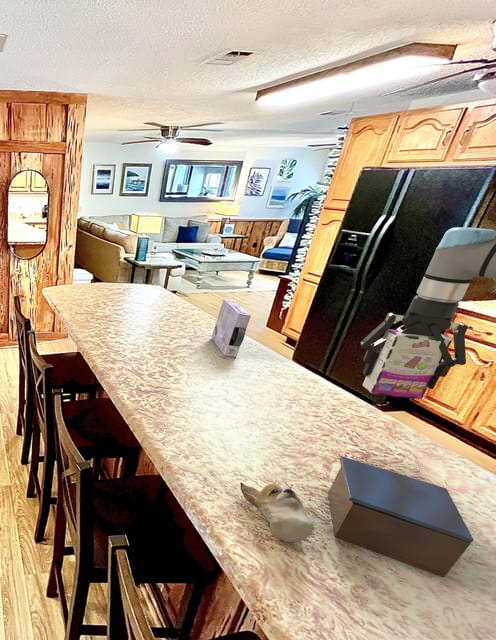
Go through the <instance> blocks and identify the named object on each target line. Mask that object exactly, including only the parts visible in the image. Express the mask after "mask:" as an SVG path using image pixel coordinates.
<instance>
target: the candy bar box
mask: <svg viewBox="0 0 496 640" xmlns="http://www.w3.org/2000/svg"><path fill="white" fill-rule="evenodd" d="M441 335H442V337H443V340H444V342H445V345H446V347H447V349H448V350H449V347H450V345H451V344H452V342H453V338H451V337H448V336H446V335H445V334H443V333H441ZM381 338H382V339H387V340H386V343H385V345H384V347H382V348H381V349H379V350H377V352H378V356H377V358H376V360H375V362H374V365H373V367H372V369H371V371H370V373H369V375H368V376H365V377H364V380H363V382H362V384H361V385H362V387H363V388H364V389H365V390H367V391H368V392H369V393H370V394H371V395H380V396H387V397H388V396H389V397H399V398H408V399H414V400H415V399H417V400H422V399H423V397H424V396H425V394H426V392H427V389H429V388H428V386H429V384H430V382H431V380H432V378H433V376H434V374H435V372H436V370H437V369H438V367H439V365H440V363H441V361H442V362H443V356H442V354H441V351H440V349H439V345H440V343H441V341H436V340H435V338H434V336H432V337H430V336H423V335H416V334H410V333H409V334H403V333H399V331H398V330H396V329H390V328H389V329H388V330H386V331H385V332H384V333H383V335H382V337H381Z"/></svg>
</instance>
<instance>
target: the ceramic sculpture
mask: <svg viewBox="0 0 496 640" xmlns="http://www.w3.org/2000/svg"><path fill="white" fill-rule="evenodd" d="M239 483H240V485H239V486H240V490H241V493H242V495H243V497H244V499H245V500H246V501H247V503H249V504H251V505H252V506H254V508H256V509H257V510H259V511H260V512H261V513H262V515H263V516H264V517H265V518H266V520H267V521H268V522H269V531H270V532H271V534H272V536H273V537H275V538H276V539H279V540H281V541H284V542H286V543H294V542H301V541H304V540H306V539H308V538H309V537H310V536H311V534H312V532H313V531H314V530H315V527H314V523H313V521H312V520H311V519H310V518H308V517H307V513H306V511H305V507H304V505H303V502H301V499H300V498H299V497H298V494H297V493H296V492H295V491H294V490H293V489H292V488H290V487H289V486H287V485H283V484H279V483H278V484H277V483H271V484H267V485H264V487H263V488H262V489H261V490H258V489H257V488H255V487H252V486H248V485H246V484H245V483H243V482H242V481H240V482H239Z"/></svg>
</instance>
